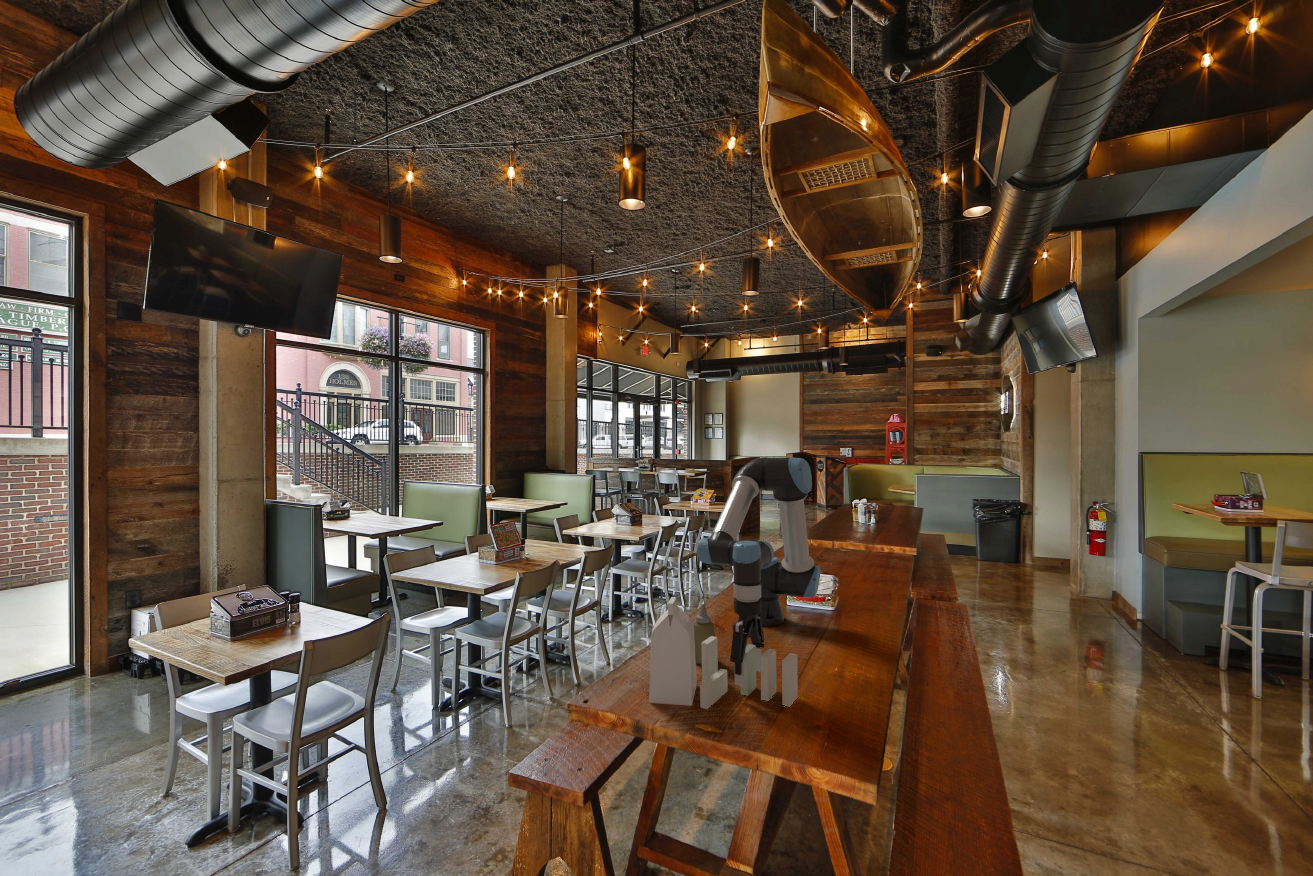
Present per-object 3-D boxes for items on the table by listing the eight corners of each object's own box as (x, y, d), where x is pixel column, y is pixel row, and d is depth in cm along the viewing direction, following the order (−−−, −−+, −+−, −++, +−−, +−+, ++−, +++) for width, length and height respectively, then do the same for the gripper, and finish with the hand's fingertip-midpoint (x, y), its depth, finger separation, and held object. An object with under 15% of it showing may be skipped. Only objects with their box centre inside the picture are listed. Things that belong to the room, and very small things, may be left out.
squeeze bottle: (696, 668, 174) (695, 609, 174) (687, 658, 182) (686, 601, 181) (720, 665, 176) (720, 607, 176) (711, 655, 184) (710, 599, 183)
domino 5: (782, 706, 150) (782, 660, 150) (790, 696, 155) (790, 652, 155) (789, 708, 149) (789, 662, 149) (797, 698, 154) (797, 654, 154)
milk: (656, 682, 165) (655, 593, 164) (696, 685, 163) (695, 594, 162) (649, 702, 153) (647, 606, 152) (691, 705, 151) (690, 608, 151)
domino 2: (721, 689, 160) (700, 708, 150) (720, 668, 160) (700, 685, 150) (727, 691, 159) (707, 710, 149) (727, 670, 159) (706, 687, 149)
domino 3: (740, 694, 157) (740, 651, 157) (749, 686, 162) (749, 644, 162) (747, 696, 156) (746, 652, 156) (756, 687, 161) (755, 645, 161)
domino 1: (702, 684, 163) (701, 642, 163) (711, 676, 168) (711, 636, 168) (708, 686, 162) (707, 644, 162) (717, 678, 167) (717, 637, 167)
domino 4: (761, 700, 154) (760, 656, 153) (769, 691, 159) (769, 648, 158) (768, 702, 152) (767, 657, 152) (776, 693, 157) (776, 649, 157)
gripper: (751, 586, 170) (752, 660, 170) (716, 607, 151) (717, 690, 151) (775, 589, 166) (776, 665, 166) (742, 612, 147) (743, 697, 147)
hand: (748, 677), depth 159 cm, fingers open, 10 cm apart
